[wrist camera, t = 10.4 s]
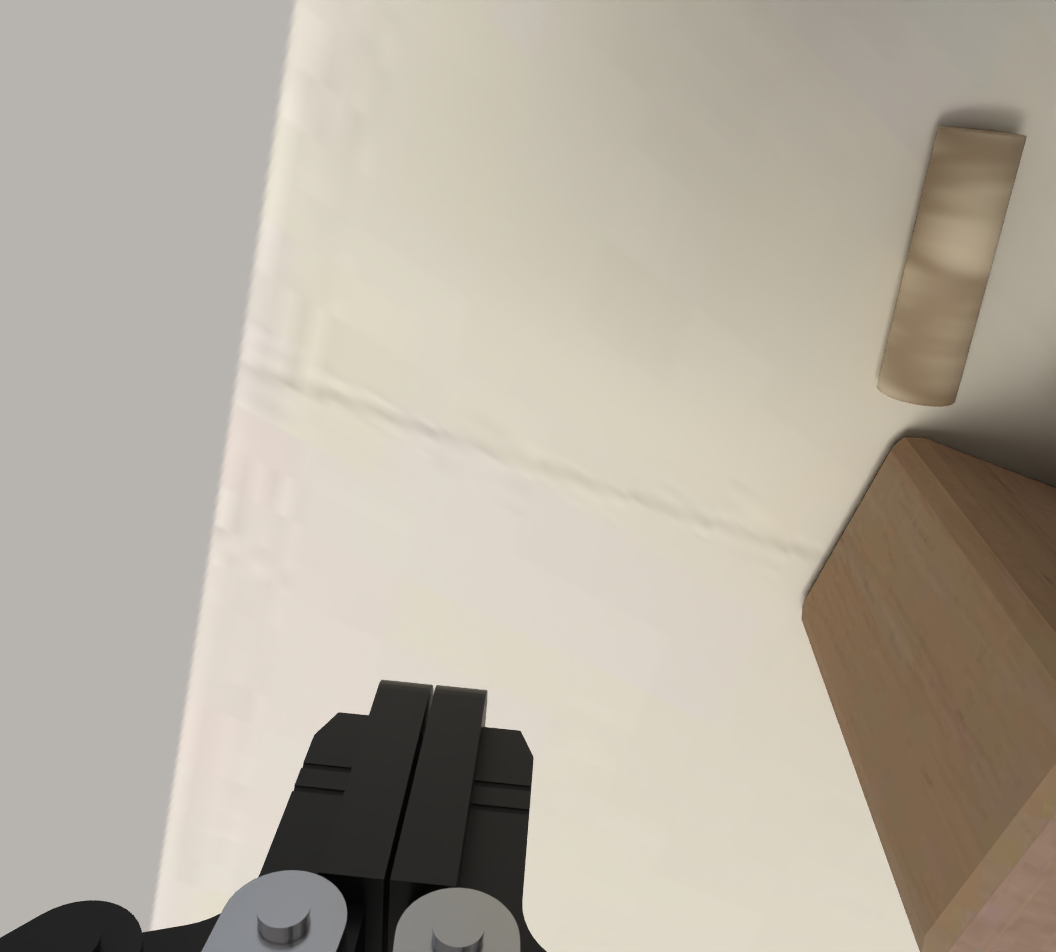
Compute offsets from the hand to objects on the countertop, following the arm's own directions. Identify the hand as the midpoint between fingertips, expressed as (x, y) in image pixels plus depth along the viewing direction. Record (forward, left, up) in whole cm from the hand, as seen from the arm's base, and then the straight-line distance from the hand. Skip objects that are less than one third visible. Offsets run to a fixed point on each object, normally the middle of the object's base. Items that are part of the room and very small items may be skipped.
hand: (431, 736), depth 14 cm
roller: (-2, +17, -27) cm, 31 cm away
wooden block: (+11, +19, -29) cm, 37 cm away
